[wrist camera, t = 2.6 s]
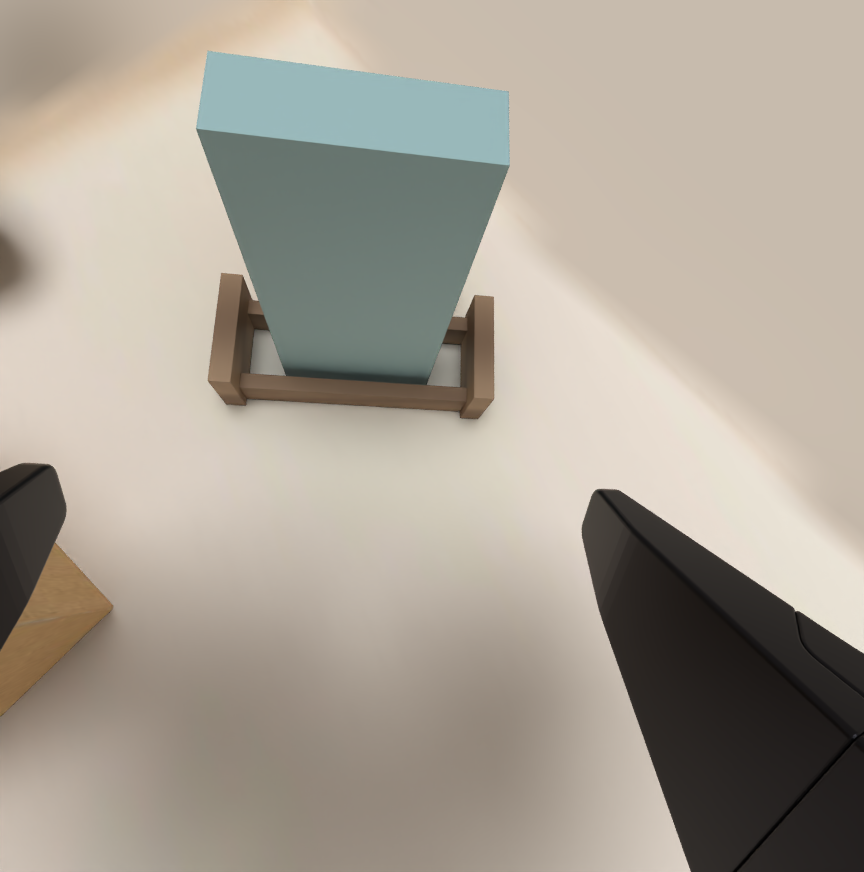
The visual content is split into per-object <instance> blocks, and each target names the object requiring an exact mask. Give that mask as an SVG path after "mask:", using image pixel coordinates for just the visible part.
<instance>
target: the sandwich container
mask: <svg viewBox="0 0 864 872" xmlns="http://www.w3.org/2000/svg"><path fill="white" fill-rule="evenodd" d="M112 608H113V605H112V604H111V603H110V602H109V601H108V600H107V599H106V597H105V596H104V595H103V594H102V593H101V592H100V591H99V590H98V589H97V588H96V587H95V585H94V584H93V583H92V582H91V581H90V580H89V579H88V578H87V577H86V576H85V575H84V573H83V572H82V571H81V570H80V569H79V568H78V567H77V566H76V565H75V564H74V563H73V561H72V560H71V559H70V558H69V557H68V556H67V555H66V554H65V553H64V552H63V551H62V549H61V548H60V547H59V546H58V545H57V544H56V543H54V546H53V548H52V550H51V553H50V555H49V557H48V560H47V562H46V564H45V566H44V569H43V571H42V573H41V576H40V578H39V580H38V582H37V585H36V587H35V589H34V591H33V593H32V596H31V598H30V600H29V602H28V604H27V606H26V607H25V609H24V611H23V613H22V615H21V616H20V618H19V620H18V622H17V623H16V625H15V627H14V629H13V630H12V632H11V634H10V635H9V637H8V639H7V641H6V642H5V644H4V646H3V648H2V649H1V651H0V716H2V715H3V714H4V713H5V712H6V711H7V710H8V709H9V708H10V707H11V706H12V705H13V704H14V703H15V702H16V701H17V700H18V699H19V698H20V697H21V696H22V695H24V694H25V693H26V692H27V691H28V690H29V689H30V688H31V687H32V686H33V685H34V684H35V683H36V682H37V681H38V680H39V679H40V678H41V677H42V676H43V675H44V674H45V673H46V672H47V671H48V670H49V669H50V668H52V667H53V666H54V665H55V664H56V663H57V662H58V661H59V660H60V659H61V658H62V657H63V656H64V655H65V654H66V653H67V652H68V651H69V650H70V649H71V648H72V647H73V646H74V645H75V644H76V643H77V642H79V641H80V640H81V639H82V638H83V637H84V636H85V635H86V634H87V633H88V632H89V631H90V630H91V629H92V628H93V627H94V626H95V625H96V624H97V623H98V622H99V621H100V620H101V619H102V618H104V617H105V616H106V615H107V614H108V613H109V612H110V611H111V610H112Z"/></svg>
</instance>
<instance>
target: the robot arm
mask: <svg viewBox="0 0 864 872" xmlns="http://www.w3.org/2000/svg"><path fill="white" fill-rule="evenodd" d="M65 517H66V502H65V499H64V496H63V492H62V489H61V485H60V482H59V479H58V475H57V472H56V470H55V469H54V467H53V466H51V465H49V464H38V463H21V464H18V465H16V466H13V467H11V468H9V469H6V470H4V471H2V472H0V651H1V649H2V648H3V646H4V644H5V642H6V641H7V639H8V637H9V635H10V634H11V632H12V630H13V629H14V627H15V625H16V623H17V622H18V620H19V618H20V616H21V615H22V613H23V611H24V609H25V607H26V606H27V604H28V602H29V600H30V598H31V596H32V593H33V591H34V589H35V587H36V585H37V582H38V580H39V578H40V576H41V573H42V571H43V569H44V566H45V564H46V562H47V560H48V557H49V555H50V553H51V550H52V548H53V546H54V543H55V541H56V539H57V537H58V534H59V532H60V530H61V527H62V525H63V523H64V520H65ZM582 539H583V543H584V548H585V552H586V556H587V561H588V565H589V569H590V574H591V578H592V583H593V587H594V591H595V596H596V600H597V604H598V608H599V611H600V615H601V618H602V621H603V624H604V627H605V630H606V632H607V635H608V638H609V641H610V644H611V647H612V649H613V652H614V655H615V658H616V661H617V664H618V666H619V669H620V672H621V675H622V678H623V681H624V683H625V686H626V689H627V692H628V695H629V698H630V700H631V703H632V706H633V709H634V712H635V715H636V717H637V720H638V723H639V726H640V729H641V732H642V734H643V737H644V740H645V743H646V746H647V749H648V751H649V754H650V757H651V760H652V763H653V766H654V768H655V771H656V774H657V777H658V780H659V783H660V786H661V788H662V791H663V794H664V797H665V800H666V803H667V805H668V808H669V811H670V814H671V817H672V820H673V822H674V825H675V828H676V831H677V834H678V837H679V839H680V842H681V845H682V848H683V851H684V854H685V856H686V859H687V862H688V865H689V868H690V871H691V872H864V654H863V653H862V652H860V651H859V650H857V649H855V648H854V647H852V646H851V645H849V644H848V643H846V642H845V641H843V640H842V639H840V638H839V637H837V636H835V635H834V634H832V633H831V632H829V631H828V630H826V629H825V628H823V627H822V626H820V625H819V624H817V623H816V622H814V621H813V620H811V619H810V618H808V617H807V616H805V615H804V614H803V613H801V612H799V611H796V612H795V610H794V608H793V607H792V606H790V605H789V604H787V603H786V602H784V601H783V600H782V599H780V598H779V597H777V596H776V595H774V594H773V593H771V592H770V591H768V590H767V589H765V588H764V587H762V586H761V585H759V584H758V583H756V582H755V581H753V580H752V579H750V578H749V577H747V576H746V575H744V574H743V573H741V572H740V571H738V570H737V569H735V568H734V567H732V566H731V565H729V564H728V563H727V562H725V561H724V560H722V559H721V558H719V557H718V556H716V555H715V554H713V553H712V552H710V551H709V550H707V549H706V548H704V547H703V546H701V545H700V544H698V543H697V542H695V541H694V540H692V539H691V538H689V537H688V536H686V535H685V534H683V533H682V532H680V531H679V530H677V529H676V528H674V527H673V526H672V525H670V524H669V523H667V522H666V521H664V520H663V519H661V518H660V517H658V516H657V515H655V514H654V513H652V512H651V511H649V510H648V509H646V508H645V507H643V506H642V505H640V504H639V503H637V502H636V501H634V500H633V499H631V498H630V497H628V496H627V495H625V494H624V493H622V492H621V491H619V490H615V489H597V490H595V491H594V493H593V494H592V496H591V499H590V502H589V505H588V508H587V512H586V515H585V518H584V521H583V524H582Z"/></svg>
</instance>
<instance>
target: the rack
mask: <svg viewBox="0 0 864 872" xmlns="http://www.w3.org/2000/svg"><path fill="white" fill-rule="evenodd" d="M254 329H264V330H269V327H268V325H267V322H266V319H265V316H264V314H263V311H262V308H261V305H260V303H259V301H254V300H252V298H251V295H250V293H249V290H248V288H247V285H246V282H245V280H244V277H243V275H238V274H226V273H221V279H220V287H219V295H218V303H217V311H216V319H215V326H214V334H213V342H212V350H211V358H210V366H209V374H208V382H209V383H210V384H211V386H212V387H213V388H214V389H215V391H216V392H217V393H218V394H219V396H220V397H221V398H222V399H223V401H224V402H225V403H226V404H232V405H246V400H247V399H262V400H279V401H296V402H312V403H329V404H345V405H362V406H379V407H395V408H412V409H429V410H445V411H460V418H471V419H478V418H479V417H480V416H481V414H482V413H483V412H484V411H485V410H486V408H487V407H488V406H489V405H490V403H491V402H492V401H493V400H494V297H490V296H479V295H475V296H474V298H473V300H472V303H471V305H470V307H469V309H468V312H467V314H466V316H465V318H462V317H452V318H451V321H450V324H449V326H448V329H447V332H446V334H445V337H444V339H443V342H442V343H450V344H461V387H446V386H430V385H415V384H400V383H385V382H369V381H354V380H339V379H324V378H308V377H293V376H278V375H263V374H249V372H250V363H251V353H252V344H253V335H254Z"/></svg>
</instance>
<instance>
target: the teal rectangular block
mask: <svg viewBox="0 0 864 872" xmlns="http://www.w3.org/2000/svg"><path fill="white" fill-rule="evenodd" d="M196 130H197V133H198V135H199V138H200V141H201V143H202V146H203V149H204V152H205V154H206V157H207V160H208V163H209V165H210V168H211V171H212V174H213V176H214V179H215V182H216V185H217V187H218V190H219V193H220V196H221V198H222V201H223V204H224V207H225V209H226V212H227V215H228V218H229V220H230V223H231V226H232V229H233V231H234V234H235V237H236V239H237V242H238V245H239V248H240V250H241V253H242V256H243V259H244V261H245V264H246V267H247V270H248V272H249V275H250V278H251V281H252V283H253V286H254V289H255V292H256V294H257V297H258V300H259V303H260V305H261V308H262V311H263V314H264V316H265V319H266V322H267V325H268V327H269V330H270V333H271V336H272V338H273V341H274V344H275V346H276V349H277V352H278V355H279V357H280V360H281V363H282V366H283V368H284V371H285V374H286V376H293V377H308V378H324V379H339V380H354V381H369V382H385V383H400V384H415V385H426V384H427V381H428V379H429V376H430V374H431V371H432V368H433V366H434V363H435V360H436V358H437V355H438V353H439V350H440V347H441V345H442V342H443V339H444V337H445V334H446V332H447V329H448V326H449V324H450V321H451V318H452V316H453V313H454V310H455V308H456V305H457V303H458V300H459V297H460V295H461V292H462V289H463V287H464V284H465V282H466V279H467V276H468V274H469V271H470V268H471V266H472V263H473V261H474V258H475V255H476V253H477V250H478V247H479V245H480V242H481V239H482V237H483V234H484V232H485V229H486V226H487V224H488V221H489V218H490V216H491V213H492V211H493V208H494V205H495V203H496V200H497V197H498V195H499V192H500V190H501V187H502V184H503V182H504V179H505V176H506V174H507V171H508V168H509V165H510V160H509V159H510V157H509V92H508V91H501V90H493V89H486V88H479V87H471V86H464V85H456V84H449V83H441V82H434V81H426V80H419V79H412V78H404V77H397V76H389V75H382V74H375V73H367V72H360V71H353V70H345V69H338V68H330V67H323V66H315V65H308V64H301V63H293V62H286V61H278V60H271V59H263V58H256V57H249V56H241V55H234V54H226V53H219V52H212V51H208V52H207V59H206V66H205V72H204V79H203V86H202V92H201V99H200V106H199V113H198V119H197V126H196Z"/></svg>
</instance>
